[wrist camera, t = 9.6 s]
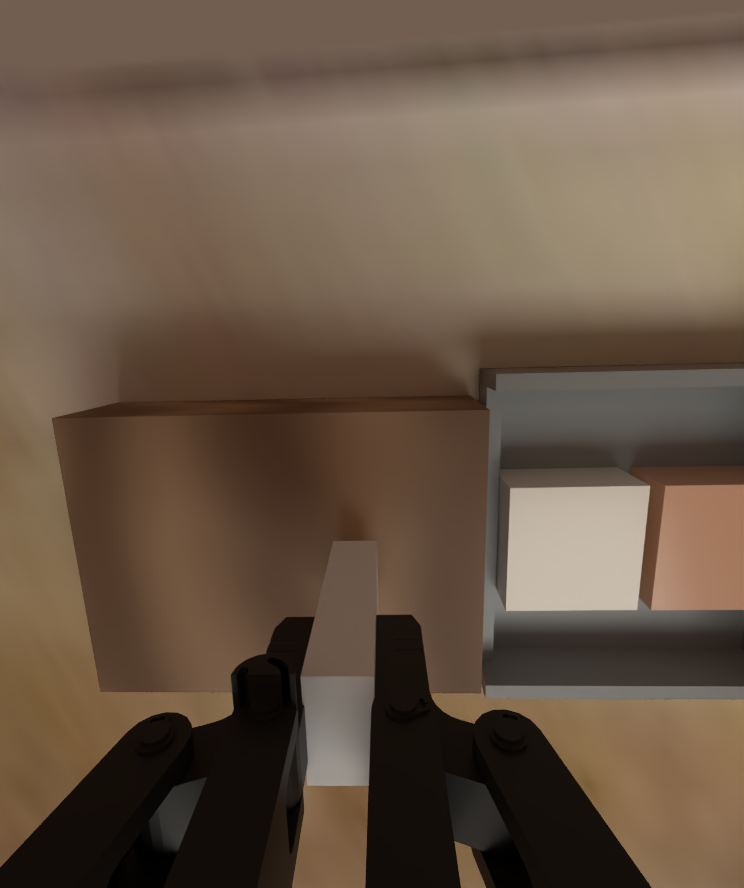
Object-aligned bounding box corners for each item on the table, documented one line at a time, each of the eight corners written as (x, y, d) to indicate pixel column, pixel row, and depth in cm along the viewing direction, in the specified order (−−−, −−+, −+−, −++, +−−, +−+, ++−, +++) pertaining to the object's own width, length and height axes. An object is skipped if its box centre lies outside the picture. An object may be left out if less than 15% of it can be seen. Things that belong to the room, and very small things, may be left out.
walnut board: (150, 630, 22) (100, 691, 19) (117, 402, 20) (51, 418, 16) (464, 630, 22) (481, 693, 18) (469, 395, 19) (490, 410, 16)
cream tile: (491, 578, 21) (506, 610, 18) (494, 469, 19) (510, 488, 17) (607, 577, 20) (637, 610, 18) (617, 467, 19) (650, 485, 17)
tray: (472, 650, 22) (496, 738, 17) (480, 368, 19) (511, 378, 14) (746, 650, 22) (851, 741, 17) (796, 361, 19) (941, 369, 14)
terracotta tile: (785, 609, 18) (737, 576, 20) (809, 483, 17) (755, 465, 19) (650, 610, 18) (619, 577, 20) (665, 485, 17) (630, 467, 19)
